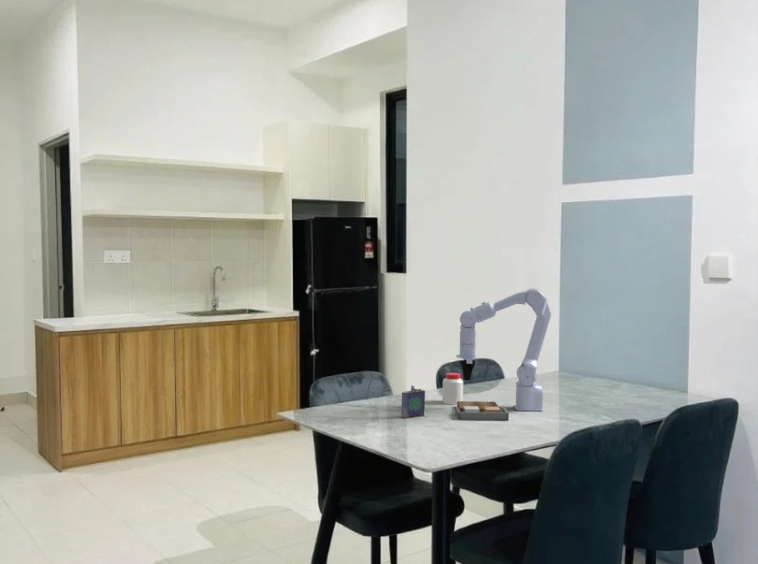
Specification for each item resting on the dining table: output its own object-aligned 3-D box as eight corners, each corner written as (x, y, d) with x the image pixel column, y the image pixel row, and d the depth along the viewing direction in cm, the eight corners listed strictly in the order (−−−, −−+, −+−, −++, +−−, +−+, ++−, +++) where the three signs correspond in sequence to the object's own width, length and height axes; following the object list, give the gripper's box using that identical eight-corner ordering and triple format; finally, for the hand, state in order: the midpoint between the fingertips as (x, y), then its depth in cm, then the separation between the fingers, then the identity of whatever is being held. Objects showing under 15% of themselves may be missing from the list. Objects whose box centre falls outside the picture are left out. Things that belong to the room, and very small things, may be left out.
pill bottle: (461, 405, 270) (462, 376, 270) (441, 404, 272) (441, 375, 271) (463, 401, 278) (464, 372, 277) (443, 400, 279) (444, 371, 279)
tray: (504, 414, 255) (504, 407, 255) (508, 420, 246) (508, 413, 246) (456, 413, 256) (456, 406, 256) (458, 419, 247) (458, 412, 247)
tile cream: (477, 413, 255) (477, 406, 255) (479, 416, 250) (479, 409, 250) (463, 413, 255) (463, 406, 255) (464, 416, 250) (465, 409, 250)
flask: (403, 418, 247) (404, 387, 247) (399, 417, 250) (399, 386, 249) (426, 416, 252) (426, 385, 252) (421, 414, 254) (421, 384, 254)
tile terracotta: (498, 413, 255) (498, 406, 255) (500, 416, 250) (500, 409, 250) (483, 413, 255) (484, 406, 255) (485, 416, 250) (486, 409, 250)
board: (494, 407, 267) (495, 401, 267) (499, 414, 256) (500, 408, 255) (457, 406, 268) (457, 401, 268) (460, 413, 256) (460, 408, 256)
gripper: (454, 340, 274) (454, 376, 274) (458, 346, 259) (458, 383, 260) (473, 341, 274) (472, 376, 274) (478, 346, 259) (477, 383, 260)
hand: (467, 380), depth 267 cm, fingers closed
